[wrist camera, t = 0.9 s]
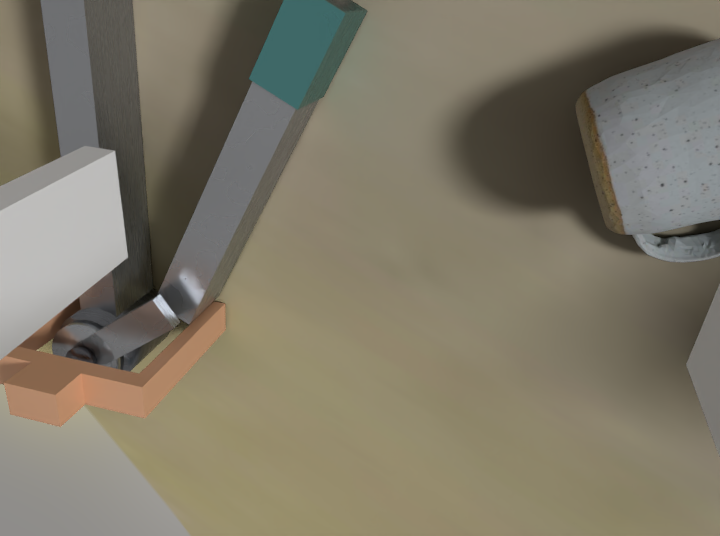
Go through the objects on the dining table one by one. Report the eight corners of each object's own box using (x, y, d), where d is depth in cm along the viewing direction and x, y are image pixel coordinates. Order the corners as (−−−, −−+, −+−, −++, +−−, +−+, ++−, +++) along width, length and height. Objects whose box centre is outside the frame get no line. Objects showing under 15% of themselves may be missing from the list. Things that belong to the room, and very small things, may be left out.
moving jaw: (183, 370, 44) (132, 426, 39) (102, 319, 44) (39, 367, 39) (367, 10, 32) (331, 14, 26) (254, -61, 32) (194, -73, 26)
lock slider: (225, 329, 42) (123, 442, 31) (89, 302, 44) (-50, 399, 33) (225, 303, 41) (119, 410, 30) (86, 276, 43) (-57, 368, 32)
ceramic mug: (562, 81, 31) (572, 110, 24) (748, 13, 28) (818, 24, 21) (617, 268, 34) (639, 340, 27) (788, 225, 31) (860, 294, 24)
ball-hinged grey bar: (173, 350, 44) (133, 390, 39) (110, 337, 45) (64, 374, 40) (142, -157, 31) (78, -182, 27) (55, -161, 32) (-21, -185, 28)
